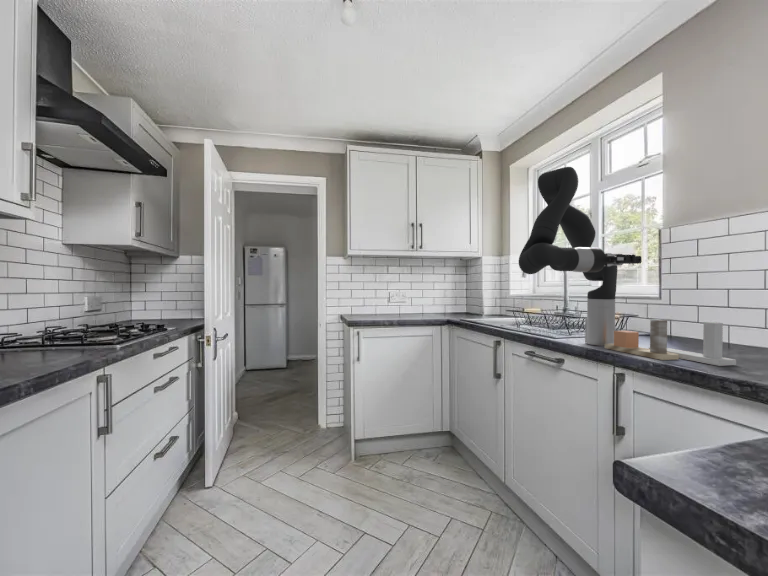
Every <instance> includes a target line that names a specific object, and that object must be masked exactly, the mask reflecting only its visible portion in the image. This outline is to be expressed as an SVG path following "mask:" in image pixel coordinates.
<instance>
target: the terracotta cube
mask: <svg viewBox="0 0 768 576" xmlns="http://www.w3.org/2000/svg"><path fill="white" fill-rule="evenodd" d="M639 336H640V333H639V331H631V330H615V331H614V345H615V346H620V347H625V348H632V347H640V346H639V345H640V343H639V342H640V341H639V339H640V338H639Z"/></svg>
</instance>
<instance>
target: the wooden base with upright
mask: <svg viewBox="0 0 768 576" xmlns="http://www.w3.org/2000/svg"><path fill="white" fill-rule="evenodd" d="M649 322H650V324H649V325H650V326H649V327H650V331H649V333H650V336H649V348H650V349H649V348H646V347H641V346H638V347H632V348H625V347H620V346H615V345H614V344H605V346H604V349H606V350H607V349H608V350H612V351H617V352H621V353H627V354H630V355H631V354H632V355H636V356H642V357H645V358H649V359H650V358H651V359H655V360H660V361H668V360H669V361H670V360H671V361H672V360H674V361H675V360H679V359H680V358H679V354H674V353H669V352H667V348H668V320H665V319H657V318H656V319H650V321H649Z"/></svg>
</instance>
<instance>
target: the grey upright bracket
mask: <svg viewBox="0 0 768 576" xmlns="http://www.w3.org/2000/svg"><path fill="white" fill-rule="evenodd" d="M723 324H724V323H723V322H714V321H706V322H705V321H704V322H703V331H702V332H703V340H702V343H703V344H702V351H703V353H701V352H700V353H699V352H694V351H688V350H681V349H677V348H671V347H667V352H669V353H674V354H679V359H682V360H686V361H687V360H688V361H691V362H698V363H703V364H708V365H712V366H718V367H722V366H736V365H737V359H735V358H728V357H723V340H724V339H723V338H724V337H723V334H724V332H723V331H724V328H723V326H724V325H723ZM648 349H650V347H648Z"/></svg>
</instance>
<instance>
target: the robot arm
mask: <svg viewBox="0 0 768 576" xmlns="http://www.w3.org/2000/svg"><path fill="white" fill-rule="evenodd" d="M578 187H579V176H578V173H577V171H576V170H575V168H573V166H565V167H561V168H557V169H553V170H550V171H546V172H543V173H542V174H540V175H539V177H538V178H537V188H538V190H539V193H540V195H541V197H542V198H543V201H544V202H545V203H546V205H547V206H546V207H544V209H542V211H541V212H540V213H539V214H538V216H537V217H536V218H535V221H534V223H533V225H532V228H531V229H532V230H531V232H530V234H529V235H530V236H529V238H528V239H527V241H526V243H525V244H524V246H523V248H522V249H521V251H520V254H519V257H518V267H519V269H520V270H521V271H522V272H523V273H524V274H527V275H535V274H537V273H539V272H540V271H541V270H543V269H544V268H546V267H548V266H549V267H550V268H551V270H554V271H557V272H572V273H582V274H583V276H584V277H585V279H586V280H587V281H590V282H602V284H601V285H600V286H599V287H597V288H595V289H591V290H589V291H588V292H587V296H586V297H587V300H586V301H587V303H586V304H587V306H586V307H587V313H586V318H585V319H584V321H585V324H584V326H585V327H584V329H585V331H584V334H585V335H584V342H585V344H588V345H592V346H598V347H599V346H600V347H605V344H614V331H616V293H617V280H618V267H619V266H623V265H624V264H625V265H631V264H633V265H634V264H641V263H642V256H641V255H636V254H623V253H611V252H607V253H606V252H604V250H603V249H601V248H600V247H592V245H593V243H594V242H595V238H596V229H595V227H594V224H593V222H592V221H591V219H590V216H588V214H586V213H585V212H584V211H582V210H580V209H578V208H576V207H575V206H573V205H571V202H572V201H573V199H574V196H575V195H576V193H577V191H578ZM559 226H560V227H561V229H562V232H563V234H564V235H565V237H566V240H567V241H568V242H569V245H570V247H560V246H558V245H554V242H555V240H556V237H557V233H558V230H559Z"/></svg>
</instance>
